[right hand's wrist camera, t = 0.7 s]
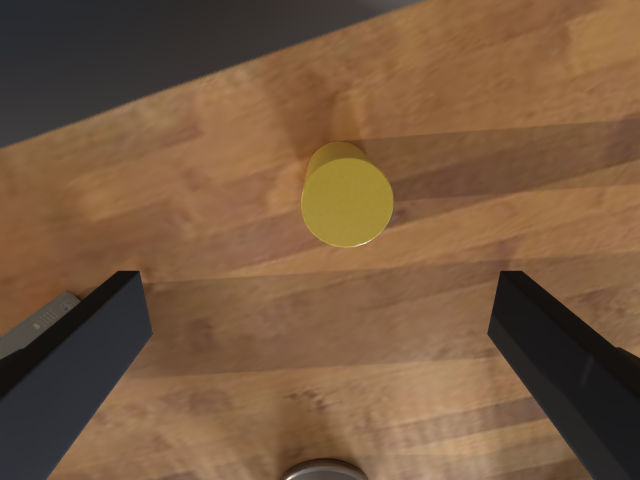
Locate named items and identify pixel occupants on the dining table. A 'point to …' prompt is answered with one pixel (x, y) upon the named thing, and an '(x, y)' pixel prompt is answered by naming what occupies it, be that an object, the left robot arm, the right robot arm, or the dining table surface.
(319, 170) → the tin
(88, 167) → the dining table surface
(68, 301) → the hard drive box
